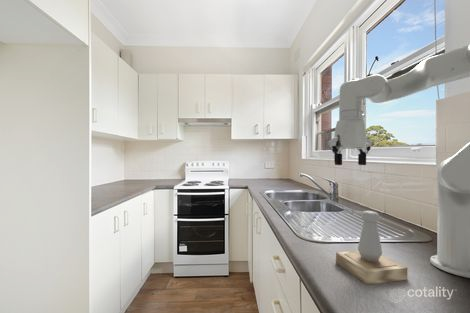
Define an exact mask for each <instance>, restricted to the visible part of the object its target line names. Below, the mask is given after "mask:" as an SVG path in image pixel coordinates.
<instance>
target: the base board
mask: <svg viewBox="0 0 470 313" xmlns="http://www.w3.org/2000/svg"><path fill="white" fill-rule="evenodd" d="M335 255H336V256H335V263H336V264H337V265H339V266H340V267H342V268H343V269H344V270H346V271H347V272H349V273H350V275H351V274H352V275H353V276H354V277H355V278H357V279H358V280H360V281H361V282H363V284H365V285H367V286H368V285H374V284H381V283H382V284H383V283H390V282H397V281H406V280H407V281H408V267H406V265H403V264H401V263H399V262H397V261H395V260H392V259H391V258H389V257H387V256H385V255H384V254H382V255H381V256H380V258H379V260H378V261H377V262H368V261H366V260H364V259H362V257H361V255H360V253H359V251H358V250H351V251H347V250H346V251H338V252H335Z"/></svg>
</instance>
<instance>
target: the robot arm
mask: <svg viewBox="0 0 470 313" xmlns="http://www.w3.org/2000/svg"><path fill="white" fill-rule="evenodd" d="M467 78H470V44H468V45H467V44H466V45H464V46H461V47H459V48H455V49H453V50H449V51H447V52H443V53H440V54H437V55H433V56H430V57H427V58H426V59H424V60H422V61H421V62H419V64H417V65H416V66H415V67H413V69H411V70H410V71H408V72H406V73H404V74H401V75H399V76H396V77H393V78H390V79H387V78H386V77H385V76H383V75H381V74H373V75H372V74H371V75H369V76H366V77H363V78H360V79H357V80H354V79H353V80H348V81H344V82H343V83H340V86H339V89H338V90H339V93H338V94H339V96H338V98H339V103H338V104H339V106H338V108H339V109H338V111H339V116H338V118H339V119H338V120H337V121H336V125H335V130H334V137H332V138H331V139H330V140H328V141H327V144H328V146H329V149H330V150H331V151H332V153H333V154H334V157H333V158H334V165H335V166H342V165H343V154H342V152H343V151H344V149H347V150H348V149H349V150H351V149H356V150H357V151H358V154H357V155H358V158H357V160H358V161H357V162H358V163H357V165H359V166H366V165H367V155H368V154H369V151H370V150H371V149H372V148H371V147H372V145H373V141H371V140H370V139H368V138H367V131H366V124H365V121H364V119H365V114H364V113H363V112H364V111H363V110H364V107H363V106H364V103H363V102H364V99H366V100H368V101H370V102H371V103H374V104H382V103H385V102H390V101H393V100H399V99H401V98H405V97H408V96H410V95H414V94H417V93H419V92H423V91H426V90H428V89H430V88H432V87H438V86H441V85H444V84H447V83H451V82H456V81H458V80H463V79H467ZM436 172H437V175H436V176H437V177H436V179H437V230H436V231H437V232H436V234H437V238H436V240H437V246H436V248H437V252H436V254H435V255H431V256H430V258H429V260H430V263H431V264H432V265H433V266H434V267H436V268H438V269H439V270H442V271H444V272H446V273H449V274H453V275H456V276H459V277H464V278H468V279H470V141H469V142H468V143H467V144H466V145H464V146H463V147H462V148H461V149H460V150H459V151H458V152H456V153H455V154H454V155H453V156H451V157H447V158H446V159H444V160H443V161H442V162H441V163H440V164H439V166H438V169H437V171H436Z"/></svg>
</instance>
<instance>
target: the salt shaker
mask: <svg viewBox="0 0 470 313" xmlns="http://www.w3.org/2000/svg"><path fill="white" fill-rule="evenodd" d="M360 218H361V220H363V222H362V228H361V232H360V237H359V242H358V246H357V251H359V253H360V255H361V257H362V259H364V260H366V261H368V262H377V261H378V260H379V258H380V256H381V255H383V249H382V244H381V238H380V233H379V228H378V222H379V220H380V215H379V213H378V212H376V211H373V210H363V211H362V212H361V214H360Z"/></svg>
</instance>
